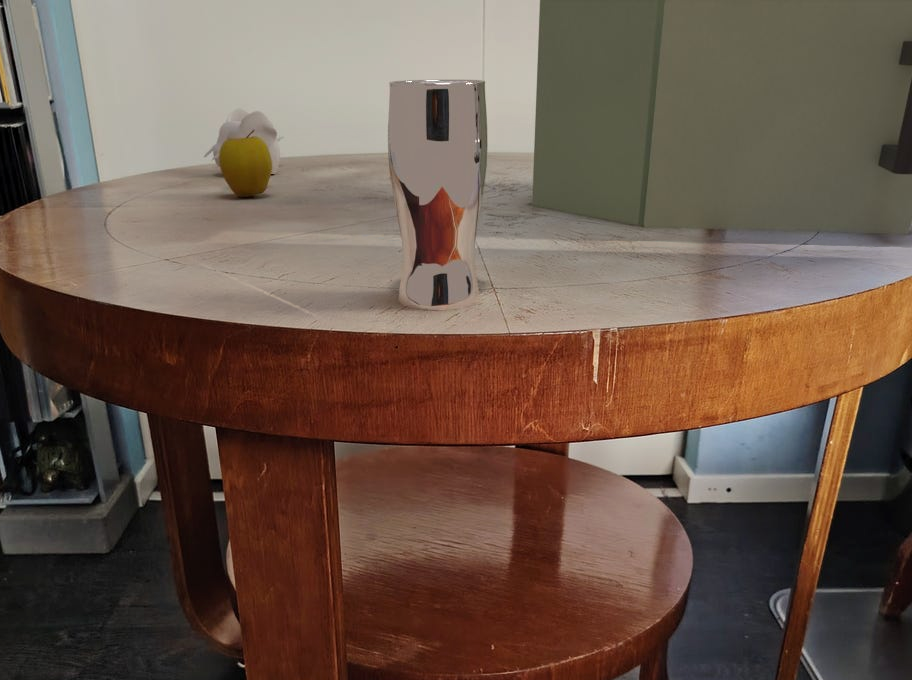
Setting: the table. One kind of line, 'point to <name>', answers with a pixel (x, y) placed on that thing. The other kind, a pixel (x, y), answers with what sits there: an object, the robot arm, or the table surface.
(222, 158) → the apple
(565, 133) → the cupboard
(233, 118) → the elephant figurine
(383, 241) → the table surface
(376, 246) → the table surface
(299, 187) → the table surface
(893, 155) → the door
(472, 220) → the beer glass
